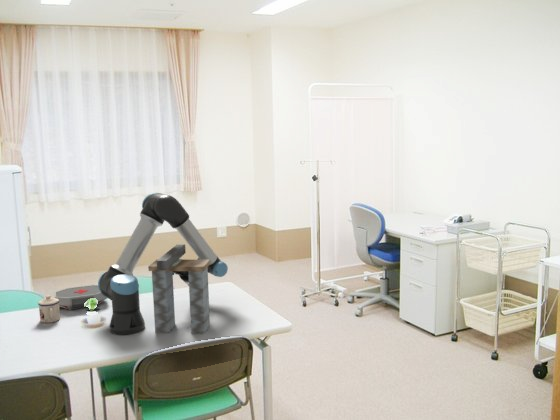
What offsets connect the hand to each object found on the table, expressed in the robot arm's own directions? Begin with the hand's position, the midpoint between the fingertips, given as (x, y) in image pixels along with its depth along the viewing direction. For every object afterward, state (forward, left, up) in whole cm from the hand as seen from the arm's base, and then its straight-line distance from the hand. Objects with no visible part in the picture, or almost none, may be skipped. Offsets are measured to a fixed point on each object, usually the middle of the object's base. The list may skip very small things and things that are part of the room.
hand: (176, 263), depth 244 cm
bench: (+4, -9, -27) cm, 29 cm away
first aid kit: (-56, +20, -28) cm, 65 cm away
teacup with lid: (-61, -2, -27) cm, 67 cm away
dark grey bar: (0, -7, +3) cm, 8 cm away
